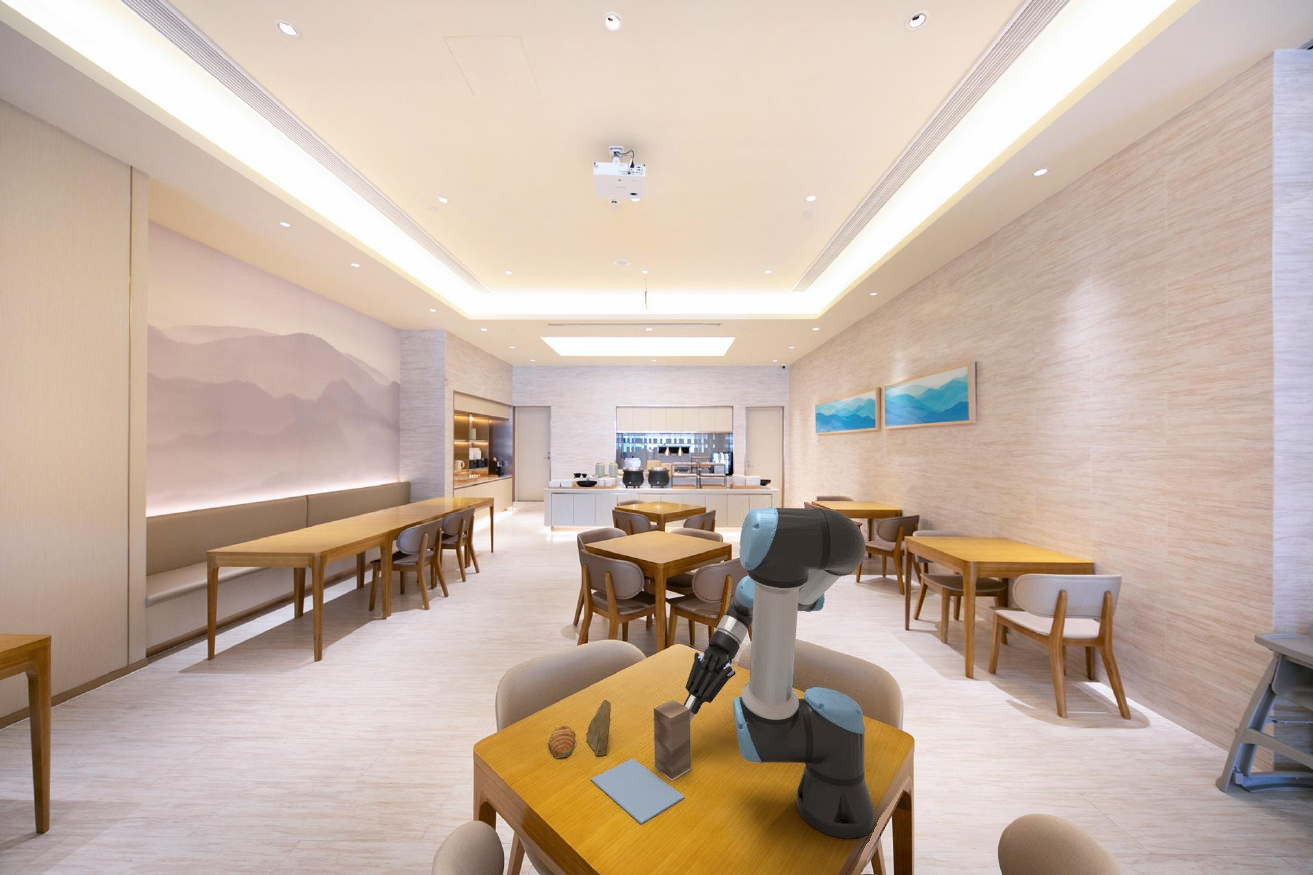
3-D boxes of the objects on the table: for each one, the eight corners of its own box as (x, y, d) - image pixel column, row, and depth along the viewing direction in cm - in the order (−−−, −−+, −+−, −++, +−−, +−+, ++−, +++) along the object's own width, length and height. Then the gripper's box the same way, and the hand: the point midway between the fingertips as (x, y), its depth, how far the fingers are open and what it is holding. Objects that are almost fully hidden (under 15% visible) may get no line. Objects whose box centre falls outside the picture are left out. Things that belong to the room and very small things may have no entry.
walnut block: (691, 769, 116) (689, 708, 116) (672, 780, 112) (671, 718, 112) (673, 757, 120) (672, 699, 120) (654, 768, 116) (653, 708, 117)
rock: (615, 750, 119) (626, 723, 129) (594, 721, 120) (607, 696, 130) (582, 770, 122) (596, 743, 131) (562, 741, 122) (577, 716, 132)
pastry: (576, 758, 120) (576, 742, 120) (547, 762, 119) (548, 745, 119) (575, 737, 129) (575, 722, 129) (549, 740, 128) (549, 725, 128)
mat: (684, 798, 106) (684, 796, 106) (641, 824, 98) (641, 822, 98) (632, 759, 119) (632, 758, 119) (590, 780, 111) (590, 778, 111)
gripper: (753, 652, 128) (709, 742, 116) (716, 638, 138) (672, 720, 126) (740, 636, 125) (693, 727, 113) (703, 623, 134) (656, 705, 123)
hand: (682, 723), depth 120 cm, fingers closed
